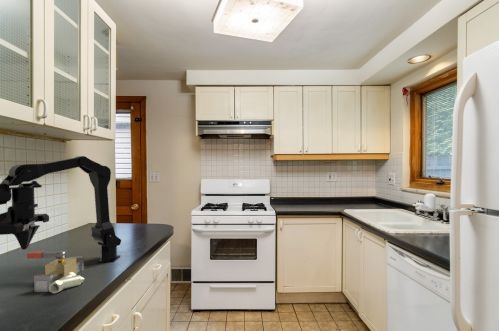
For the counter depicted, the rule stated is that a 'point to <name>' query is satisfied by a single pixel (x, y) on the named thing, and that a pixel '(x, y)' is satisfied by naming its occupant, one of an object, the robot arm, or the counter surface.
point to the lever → (47, 254)
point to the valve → (57, 272)
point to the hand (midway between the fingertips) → (24, 249)
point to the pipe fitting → (66, 282)
